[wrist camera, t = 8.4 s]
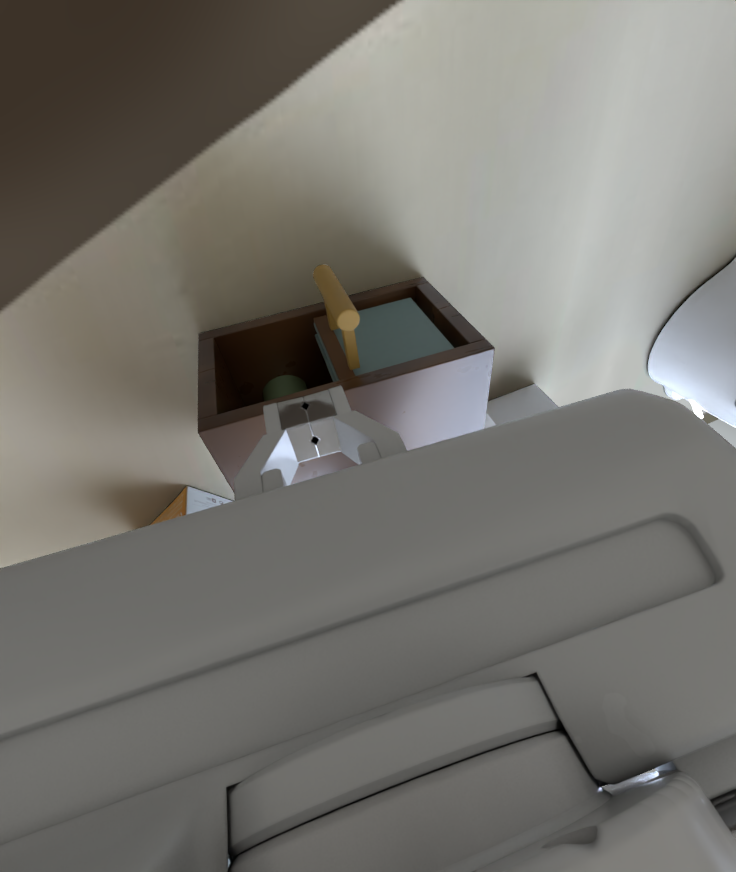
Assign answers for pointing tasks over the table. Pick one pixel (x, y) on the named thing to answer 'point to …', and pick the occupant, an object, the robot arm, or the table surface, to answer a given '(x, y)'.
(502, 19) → the table surface
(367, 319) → the handled teal slab
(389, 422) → the cabinet
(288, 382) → the green jar
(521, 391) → the white cube
